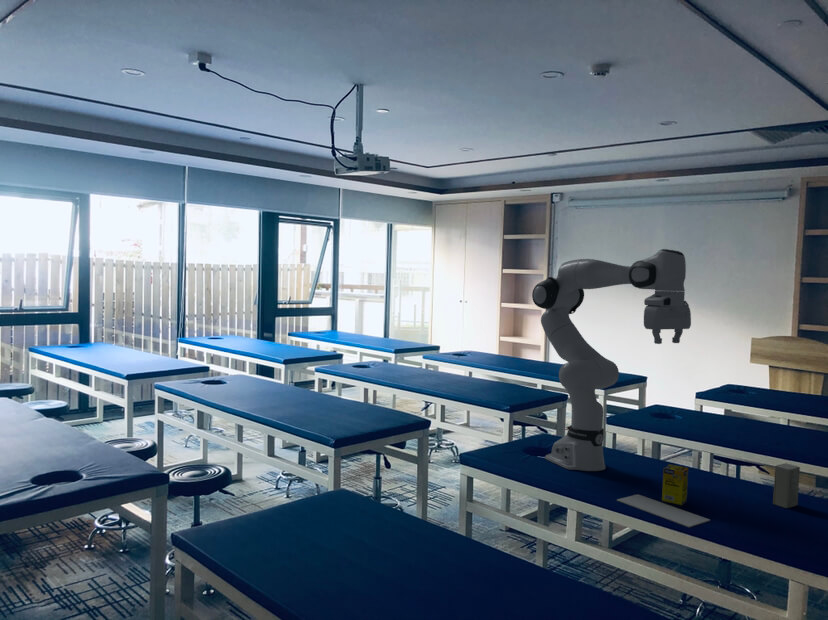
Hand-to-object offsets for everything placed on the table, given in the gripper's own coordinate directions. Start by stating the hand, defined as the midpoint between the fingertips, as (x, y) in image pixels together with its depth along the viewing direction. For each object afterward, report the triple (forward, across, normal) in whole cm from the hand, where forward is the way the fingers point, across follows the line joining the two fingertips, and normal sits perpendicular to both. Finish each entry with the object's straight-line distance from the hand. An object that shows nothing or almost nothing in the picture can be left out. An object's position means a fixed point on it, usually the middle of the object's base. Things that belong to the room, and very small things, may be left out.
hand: (667, 343), depth 198 cm
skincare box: (+48, -24, +27) cm, 60 cm away
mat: (+48, +15, +11) cm, 51 cm away
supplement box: (+48, +6, +9) cm, 49 cm away
